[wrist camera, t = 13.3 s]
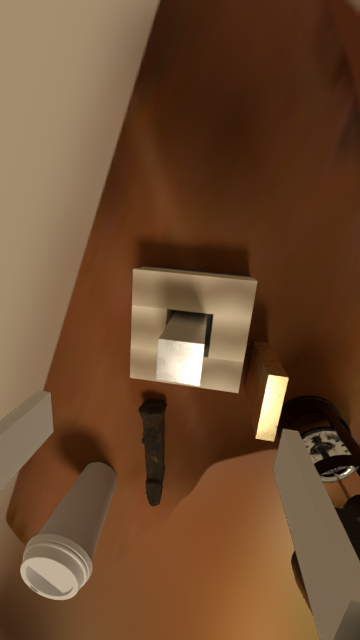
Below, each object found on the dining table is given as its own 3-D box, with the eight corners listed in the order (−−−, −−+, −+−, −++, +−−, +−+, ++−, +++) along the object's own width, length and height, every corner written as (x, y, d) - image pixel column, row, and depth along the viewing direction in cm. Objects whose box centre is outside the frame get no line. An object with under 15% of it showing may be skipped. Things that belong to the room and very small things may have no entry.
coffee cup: (67, 461, 46) (0, 557, 31) (111, 450, 43) (61, 547, 29) (90, 499, 48) (37, 607, 33) (133, 490, 45) (97, 601, 31)
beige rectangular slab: (258, 392, 37) (273, 441, 27) (244, 390, 37) (255, 438, 27) (268, 342, 35) (288, 377, 25) (253, 340, 35) (268, 374, 25)
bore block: (234, 370, 36) (238, 393, 31) (142, 358, 38) (130, 377, 32) (249, 275, 32) (257, 281, 27) (146, 265, 34) (133, 269, 28)
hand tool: (143, 395, 40) (135, 414, 36) (168, 398, 39) (162, 417, 35) (144, 485, 45) (137, 510, 41) (166, 488, 45) (160, 514, 40)
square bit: (204, 339, 34) (199, 385, 22) (175, 336, 34) (156, 379, 22) (207, 311, 32) (204, 344, 21) (177, 307, 33) (158, 338, 21)
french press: (262, 437, 39) (327, 679, 17) (283, 386, 36) (393, 598, 14) (336, 458, 38) (505, 740, 16) (363, 409, 35) (611, 667, 13)
